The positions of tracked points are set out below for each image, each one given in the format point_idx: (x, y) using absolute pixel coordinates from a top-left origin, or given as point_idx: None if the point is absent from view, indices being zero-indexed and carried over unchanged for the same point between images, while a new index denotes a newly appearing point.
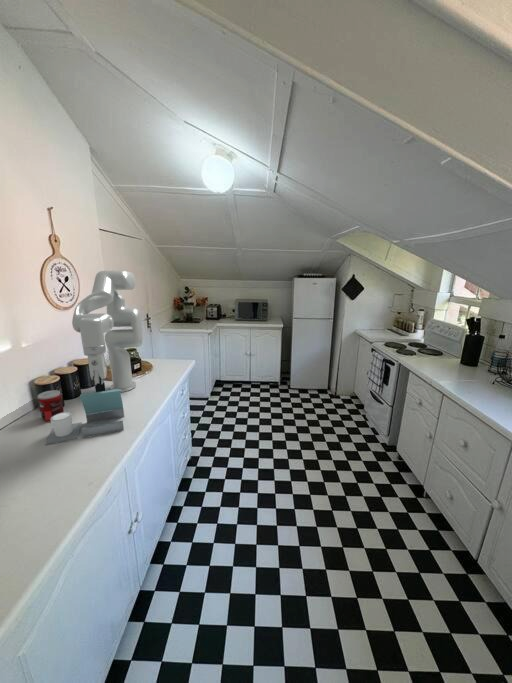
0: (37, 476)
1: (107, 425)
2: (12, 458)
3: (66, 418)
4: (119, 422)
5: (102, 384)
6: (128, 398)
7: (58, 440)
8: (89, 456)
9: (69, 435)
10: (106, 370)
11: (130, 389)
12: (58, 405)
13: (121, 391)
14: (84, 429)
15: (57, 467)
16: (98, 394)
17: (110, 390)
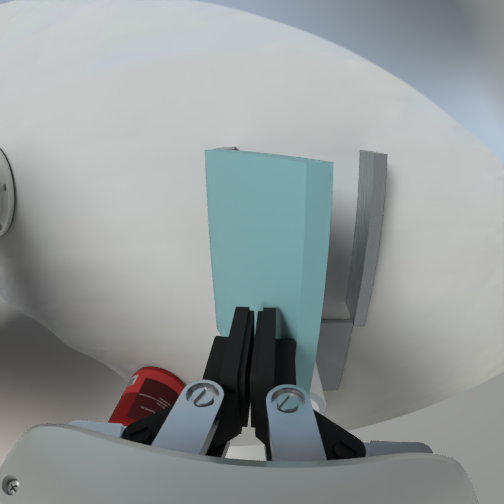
0: (462, 362)
1: (379, 226)
2: (356, 422)
3: (318, 397)
4: (386, 170)
5: (272, 385)
6: (58, 150)
7: (336, 367)
8: (470, 269)
9: (321, 345)
10: (107, 484)
11: (4, 157)
12: (158, 410)
13: (12, 191)
14: (365, 315)
15: (462, 335)
16: (310, 353)
17: (307, 269)
